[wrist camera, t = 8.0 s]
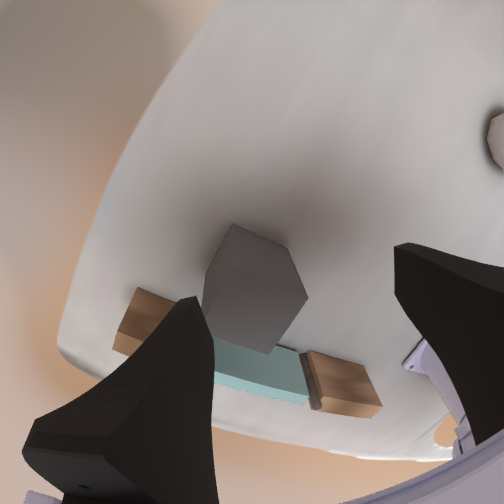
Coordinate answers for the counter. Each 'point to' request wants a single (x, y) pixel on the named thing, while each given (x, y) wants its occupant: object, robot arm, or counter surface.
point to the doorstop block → (251, 291)
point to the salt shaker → (497, 139)
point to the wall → (313, 364)
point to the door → (260, 371)
